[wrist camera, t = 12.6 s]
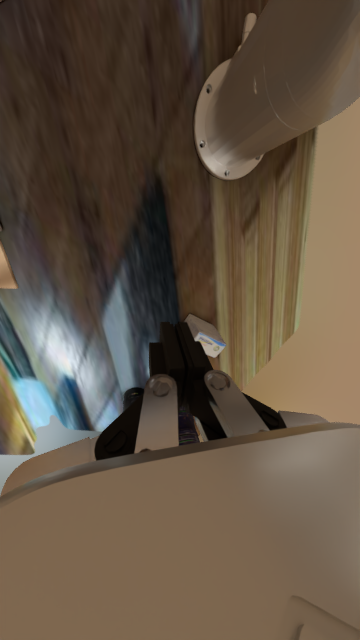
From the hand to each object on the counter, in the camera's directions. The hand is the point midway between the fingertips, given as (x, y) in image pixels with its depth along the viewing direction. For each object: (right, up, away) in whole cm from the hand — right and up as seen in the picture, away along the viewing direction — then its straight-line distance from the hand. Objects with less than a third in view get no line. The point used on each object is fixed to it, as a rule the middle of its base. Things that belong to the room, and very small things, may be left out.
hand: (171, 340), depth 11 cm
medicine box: (+5, 0, +34) cm, 34 cm away
